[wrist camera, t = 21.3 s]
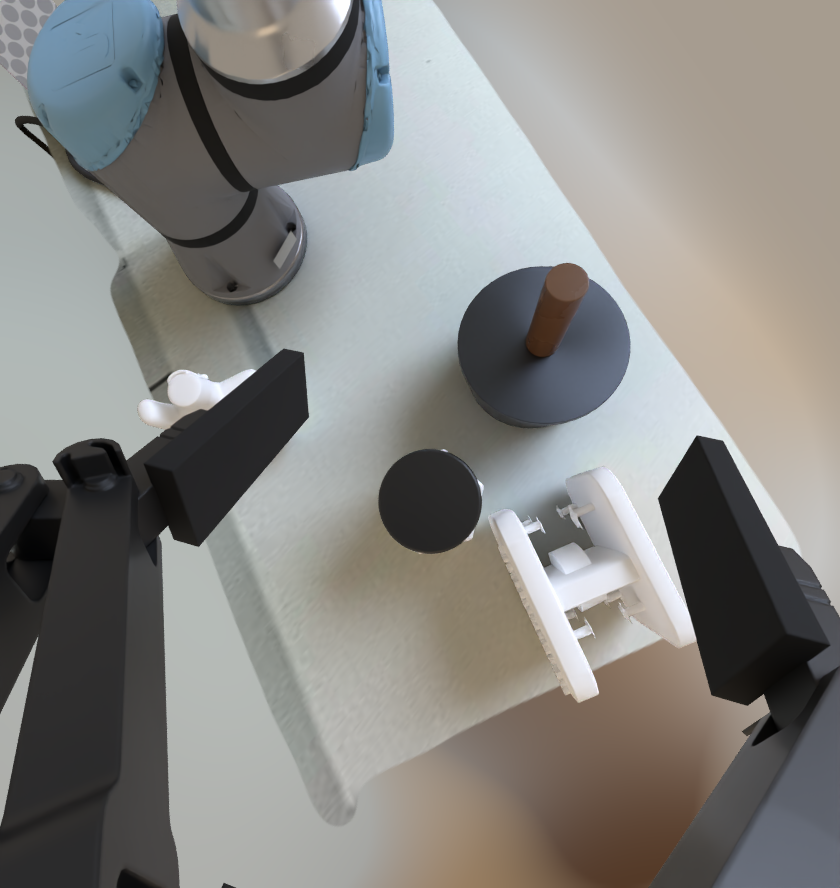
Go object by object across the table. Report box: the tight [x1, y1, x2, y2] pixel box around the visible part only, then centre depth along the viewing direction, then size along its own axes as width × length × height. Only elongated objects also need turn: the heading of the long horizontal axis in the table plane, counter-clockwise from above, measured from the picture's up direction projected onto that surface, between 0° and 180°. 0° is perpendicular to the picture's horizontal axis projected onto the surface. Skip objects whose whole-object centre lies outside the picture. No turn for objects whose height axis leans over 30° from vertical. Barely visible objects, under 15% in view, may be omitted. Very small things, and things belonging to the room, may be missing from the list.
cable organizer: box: [488, 467, 697, 703], centre depth 37 cm, size 15×11×12 cm
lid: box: [458, 263, 630, 425], centre depth 33 cm, size 14×14×10 cm
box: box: [0, 0, 57, 90], centre depth 45 cm, size 8×8×25 cm
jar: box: [379, 449, 484, 554], centre depth 39 cm, size 9×8×12 cm
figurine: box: [137, 369, 256, 430], centre depth 41 cm, size 7×9×15 cm
